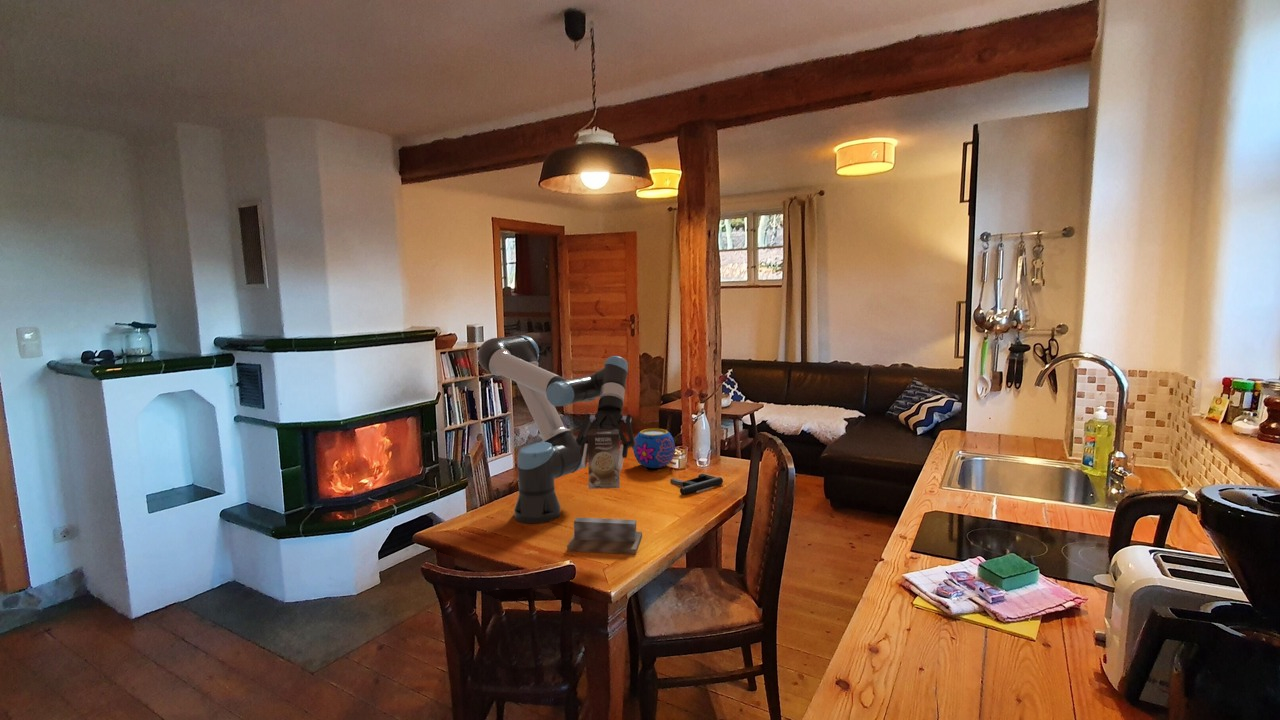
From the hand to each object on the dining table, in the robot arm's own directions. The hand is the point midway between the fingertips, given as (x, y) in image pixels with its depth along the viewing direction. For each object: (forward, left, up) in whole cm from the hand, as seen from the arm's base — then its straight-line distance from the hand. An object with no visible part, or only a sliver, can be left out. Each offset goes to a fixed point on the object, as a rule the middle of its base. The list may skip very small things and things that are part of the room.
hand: (601, 466), depth 170 cm
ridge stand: (0, +3, -24) cm, 25 cm away
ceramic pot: (+5, +78, -25) cm, 82 cm away
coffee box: (0, +3, -7) cm, 7 cm away
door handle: (+22, +56, -25) cm, 65 cm away
